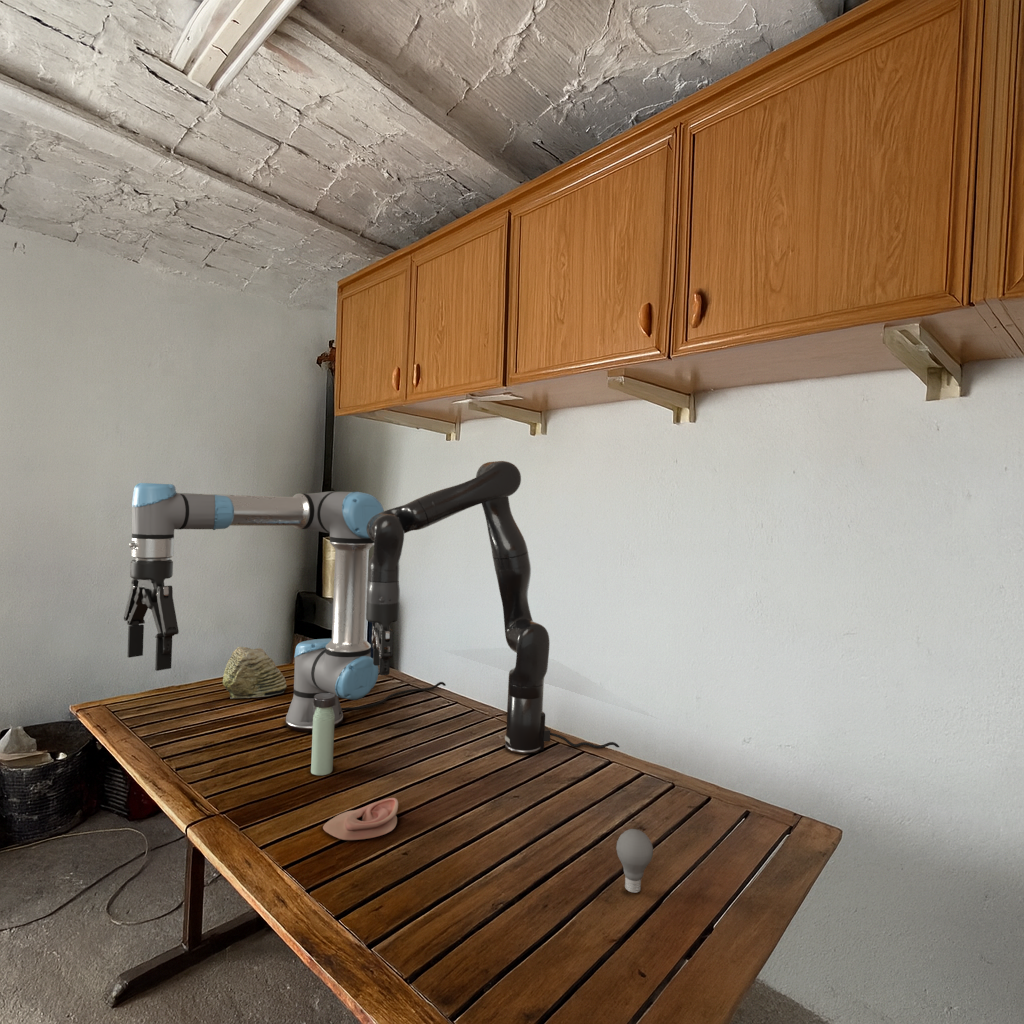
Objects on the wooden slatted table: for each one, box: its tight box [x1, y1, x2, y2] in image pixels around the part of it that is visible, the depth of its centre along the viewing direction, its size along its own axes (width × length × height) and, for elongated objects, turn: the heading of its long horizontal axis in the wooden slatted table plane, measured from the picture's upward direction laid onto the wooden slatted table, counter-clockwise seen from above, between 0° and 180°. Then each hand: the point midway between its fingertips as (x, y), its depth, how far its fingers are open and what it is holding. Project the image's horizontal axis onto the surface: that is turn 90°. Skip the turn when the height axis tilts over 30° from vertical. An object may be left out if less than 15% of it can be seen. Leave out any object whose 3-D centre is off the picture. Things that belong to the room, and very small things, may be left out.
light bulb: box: [615, 828, 654, 894], centre depth 106 cm, size 6×6×10 cm
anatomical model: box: [322, 797, 399, 841], centre depth 122 cm, size 13×4×12 cm
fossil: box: [222, 646, 288, 699], centre depth 198 cm, size 9×18×15 cm, turn 132°
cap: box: [314, 693, 335, 708], centre depth 146 cm, size 5×5×2 cm
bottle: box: [310, 707, 335, 776], centre depth 146 cm, size 5×5×17 cm
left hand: (148, 662), depth 129 cm, fingers open, 13 cm apart
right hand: (381, 669), depth 147 cm, fingers open, 8 cm apart
